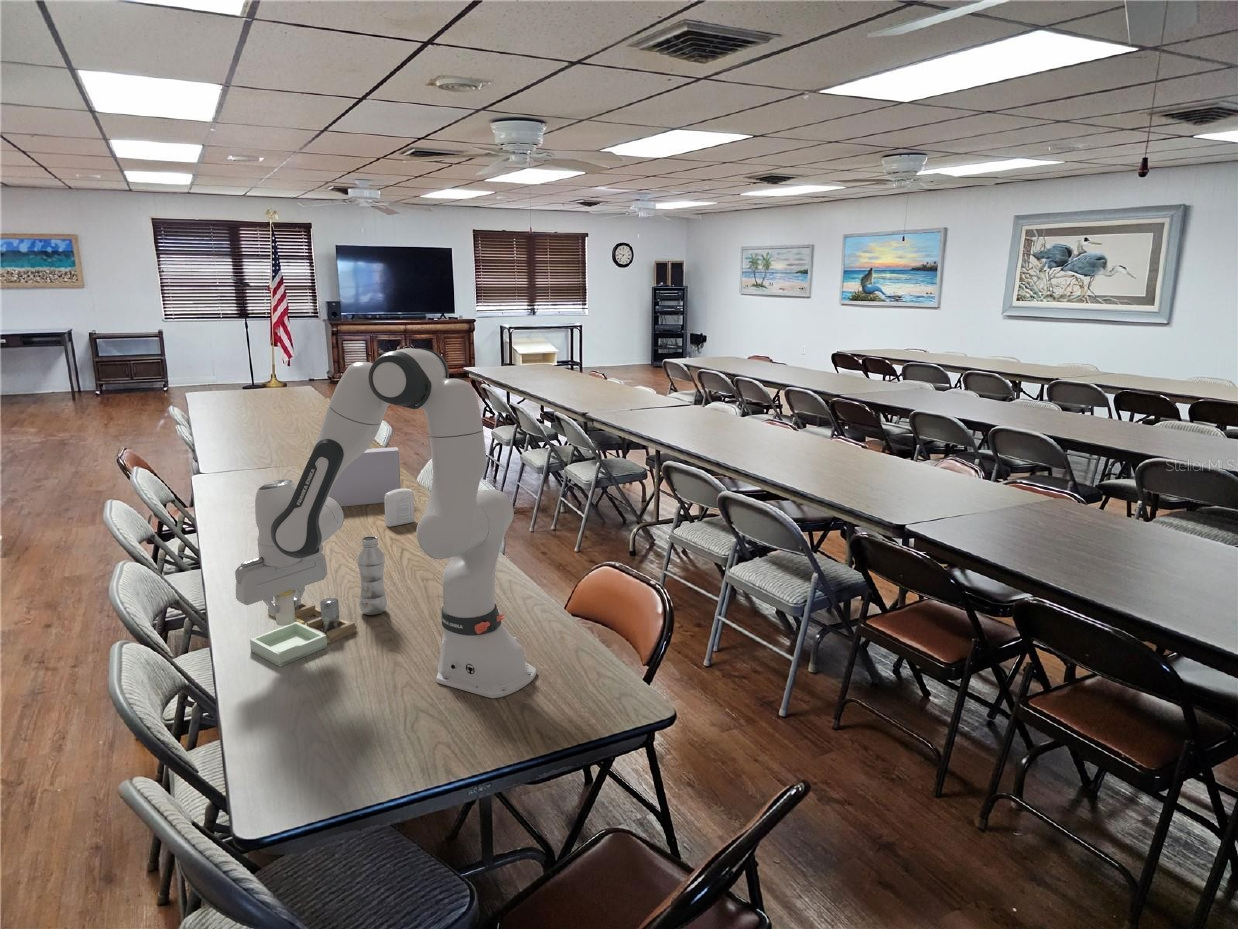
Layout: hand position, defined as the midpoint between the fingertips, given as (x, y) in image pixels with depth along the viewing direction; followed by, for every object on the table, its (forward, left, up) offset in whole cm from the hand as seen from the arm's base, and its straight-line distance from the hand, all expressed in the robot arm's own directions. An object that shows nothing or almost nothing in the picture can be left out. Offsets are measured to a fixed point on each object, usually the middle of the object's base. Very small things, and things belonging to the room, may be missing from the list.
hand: (285, 609), depth 171 cm
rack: (+8, -11, -10) cm, 17 cm away
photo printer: (+52, -74, -10) cm, 91 cm away
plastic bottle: (+1, -24, -10) cm, 26 cm away
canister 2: (0, -11, -10) cm, 15 cm away
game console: (+82, -81, -10) cm, 116 cm away
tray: (0, 0, -10) cm, 10 cm away
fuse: (0, 0, -3) cm, 3 cm away
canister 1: (+16, -11, -10) cm, 22 cm away
